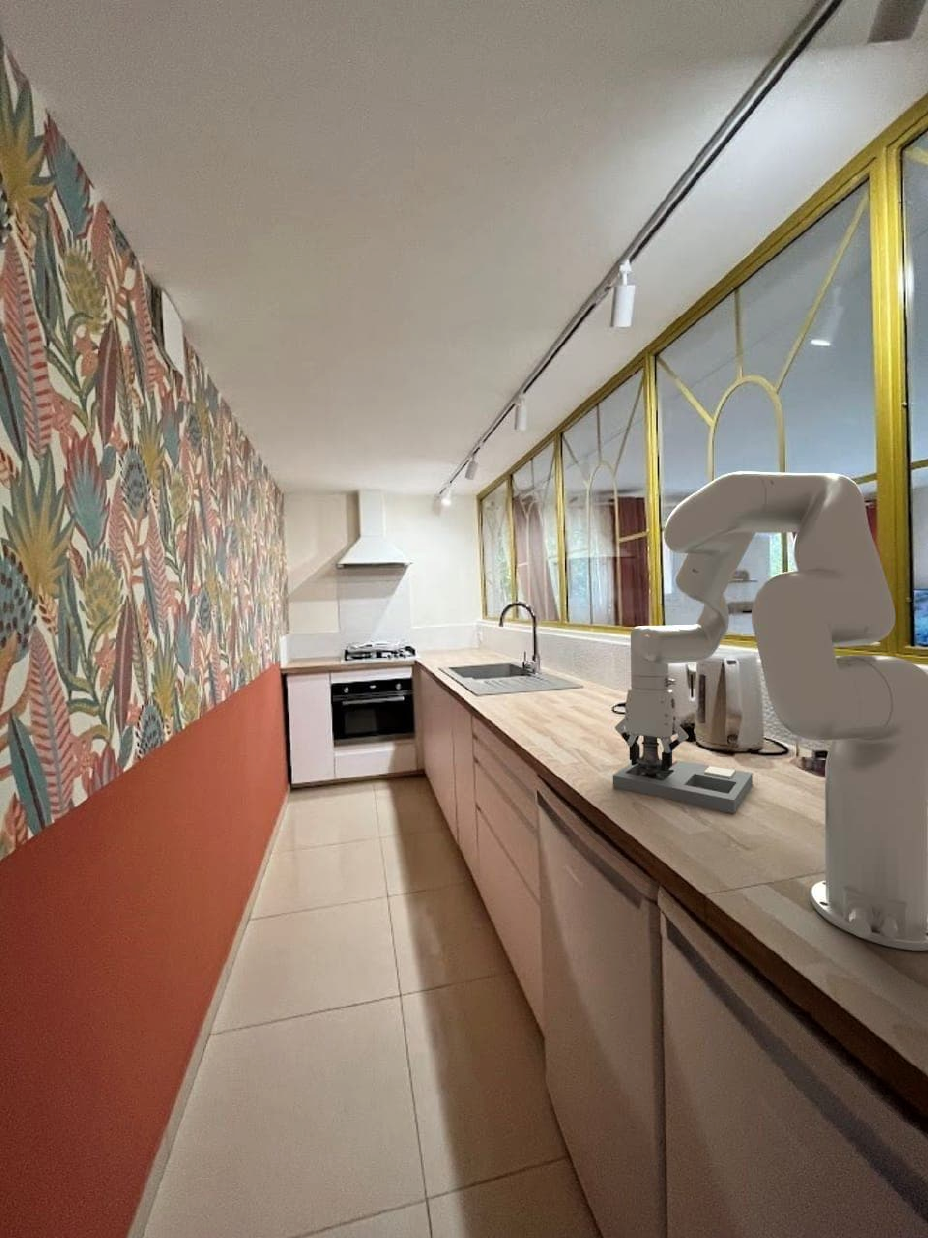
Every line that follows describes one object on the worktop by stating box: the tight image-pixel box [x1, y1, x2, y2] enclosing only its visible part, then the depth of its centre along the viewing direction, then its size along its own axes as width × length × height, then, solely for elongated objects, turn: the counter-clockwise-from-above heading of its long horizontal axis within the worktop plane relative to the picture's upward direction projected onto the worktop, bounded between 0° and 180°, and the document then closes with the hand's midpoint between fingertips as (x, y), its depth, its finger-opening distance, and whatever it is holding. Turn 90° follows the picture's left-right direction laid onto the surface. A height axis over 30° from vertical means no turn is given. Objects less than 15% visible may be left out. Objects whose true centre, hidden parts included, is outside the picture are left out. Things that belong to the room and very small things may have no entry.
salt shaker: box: [636, 736, 664, 781], centre depth 106 cm, size 6×6×12 cm
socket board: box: [612, 755, 754, 815], centre depth 105 cm, size 19×23×3 cm
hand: (650, 765), depth 106 cm, fingers closed on salt shaker, 5 cm apart
